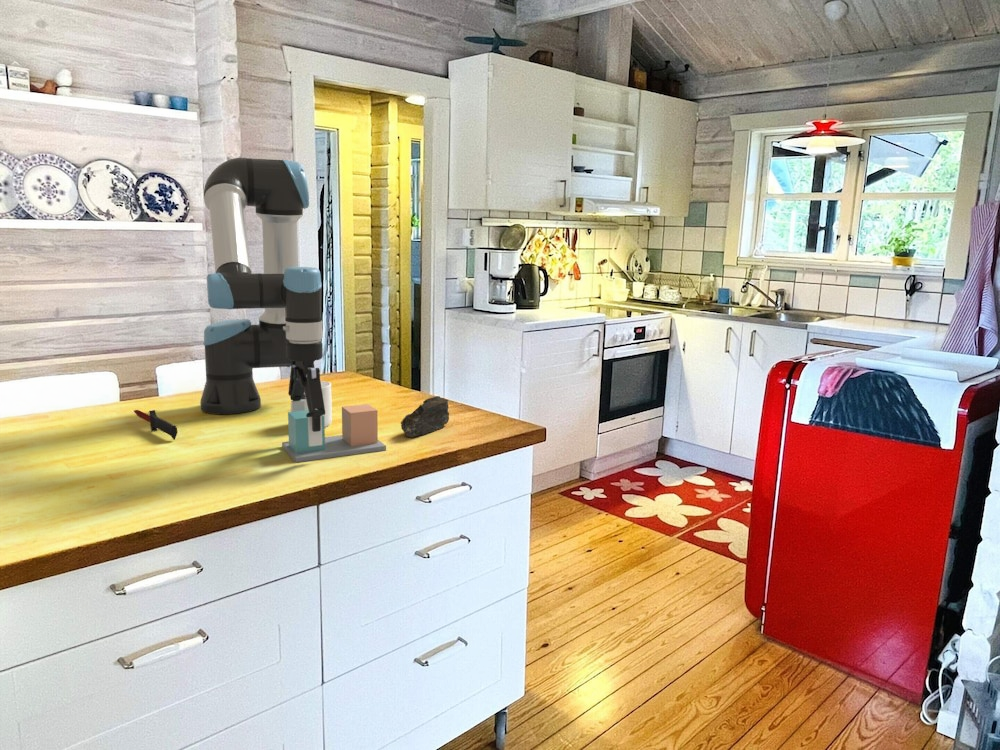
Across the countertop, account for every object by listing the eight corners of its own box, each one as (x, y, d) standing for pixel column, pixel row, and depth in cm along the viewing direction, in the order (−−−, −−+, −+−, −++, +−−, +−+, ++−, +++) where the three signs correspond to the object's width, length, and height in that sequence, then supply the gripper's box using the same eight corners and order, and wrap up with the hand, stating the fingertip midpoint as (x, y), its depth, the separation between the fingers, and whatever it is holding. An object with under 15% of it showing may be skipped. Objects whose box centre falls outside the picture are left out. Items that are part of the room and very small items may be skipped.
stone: (424, 421, 183) (396, 438, 169) (425, 390, 181) (397, 406, 167) (449, 425, 181) (423, 443, 167) (451, 394, 179) (424, 410, 165)
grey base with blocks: (282, 446, 159) (280, 409, 157) (367, 436, 169) (367, 400, 167) (295, 462, 149) (294, 422, 147) (386, 450, 159) (385, 412, 157)
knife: (178, 441, 161) (177, 420, 160) (171, 442, 160) (170, 421, 159) (137, 420, 177) (135, 400, 176) (131, 421, 176) (129, 401, 175)
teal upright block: (289, 445, 157) (287, 412, 155) (316, 441, 160) (316, 409, 158) (296, 453, 152) (295, 419, 150) (325, 449, 155) (324, 415, 153)
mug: (304, 434, 169) (303, 392, 167) (279, 429, 173) (277, 387, 171) (338, 423, 179) (338, 383, 177) (314, 418, 183) (313, 379, 181)
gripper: (272, 333, 160) (276, 424, 164) (301, 351, 139) (304, 455, 143) (306, 331, 163) (308, 420, 168) (339, 349, 142) (341, 450, 147)
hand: (306, 436), depth 155 cm, fingers open, 13 cm apart
